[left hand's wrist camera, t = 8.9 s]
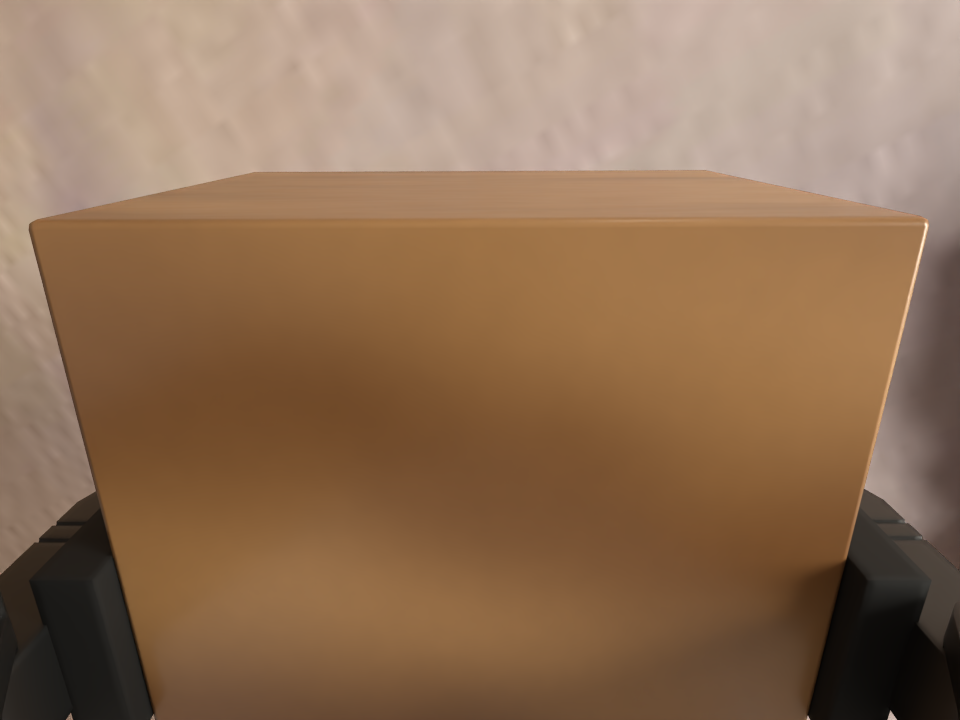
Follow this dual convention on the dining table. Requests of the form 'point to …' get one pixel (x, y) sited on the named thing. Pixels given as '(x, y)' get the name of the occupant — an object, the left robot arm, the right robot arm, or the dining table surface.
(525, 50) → the dining table surface
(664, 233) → the slab
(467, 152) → the dining table surface
